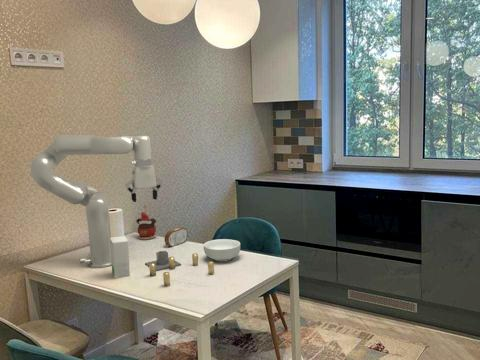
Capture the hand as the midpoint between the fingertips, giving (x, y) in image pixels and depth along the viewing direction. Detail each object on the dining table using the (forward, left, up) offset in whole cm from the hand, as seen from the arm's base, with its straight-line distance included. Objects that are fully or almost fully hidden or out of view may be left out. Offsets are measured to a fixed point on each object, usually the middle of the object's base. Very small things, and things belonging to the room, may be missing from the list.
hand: (144, 200), depth 214 cm
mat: (+1, -13, -28) cm, 30 cm away
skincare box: (-18, -13, -28) cm, 35 cm away
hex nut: (+1, -13, -27) cm, 30 cm away
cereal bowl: (+26, -23, -28) cm, 45 cm away
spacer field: (+2, -29, -28) cm, 40 cm away
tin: (+20, +12, -28) cm, 36 cm away
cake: (+13, +34, -28) cm, 46 cm away
